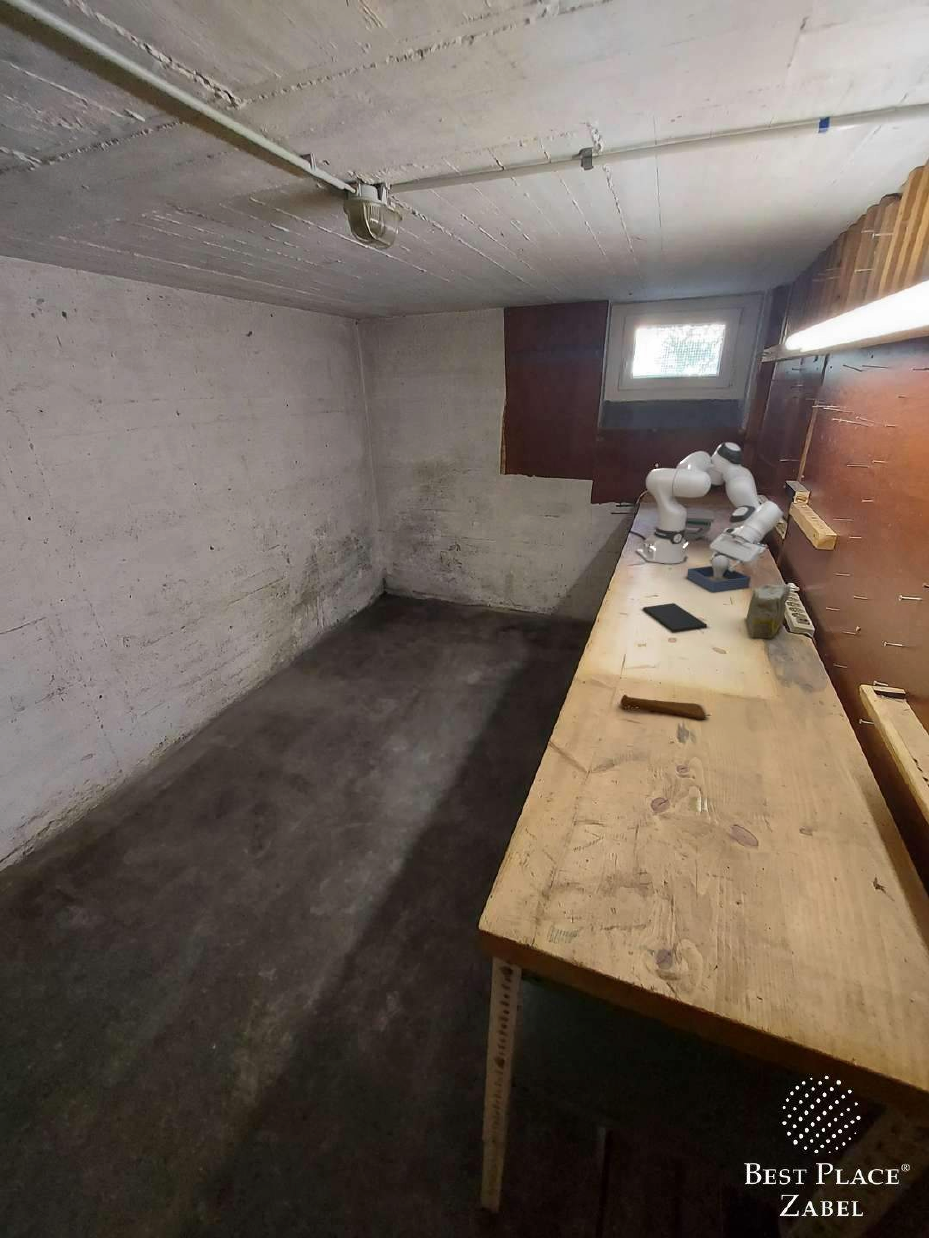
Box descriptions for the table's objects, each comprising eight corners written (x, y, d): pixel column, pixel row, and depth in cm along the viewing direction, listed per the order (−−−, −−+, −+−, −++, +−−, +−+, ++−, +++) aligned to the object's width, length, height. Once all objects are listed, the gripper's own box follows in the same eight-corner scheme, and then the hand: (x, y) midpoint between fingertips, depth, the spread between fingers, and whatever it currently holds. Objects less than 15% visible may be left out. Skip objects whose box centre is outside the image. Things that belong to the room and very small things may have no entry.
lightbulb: (727, 585, 186) (732, 558, 181) (710, 585, 187) (715, 558, 182) (722, 580, 191) (728, 553, 187) (706, 579, 193) (711, 553, 188)
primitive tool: (699, 706, 119) (701, 694, 118) (706, 720, 114) (708, 708, 113) (619, 702, 122) (620, 691, 120) (622, 716, 117) (624, 704, 116)
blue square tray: (686, 578, 195) (688, 568, 193) (720, 573, 198) (722, 564, 196) (712, 592, 181) (714, 582, 179) (748, 587, 184) (750, 577, 182)
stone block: (749, 638, 149) (760, 593, 142) (745, 618, 161) (755, 576, 154) (787, 643, 145) (800, 597, 138) (781, 622, 157) (792, 579, 150)
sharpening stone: (711, 537, 242) (715, 515, 238) (710, 541, 236) (714, 519, 231) (658, 532, 253) (661, 511, 249) (656, 536, 247) (659, 515, 242)
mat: (642, 609, 170) (643, 607, 170) (673, 605, 172) (673, 603, 172) (673, 632, 154) (673, 629, 154) (706, 627, 156) (706, 624, 156)
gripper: (772, 551, 177) (744, 579, 179) (729, 536, 195) (705, 562, 197) (765, 541, 174) (737, 570, 176) (722, 527, 192) (697, 553, 194)
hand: (720, 566), depth 186 cm, fingers open, 8 cm apart
